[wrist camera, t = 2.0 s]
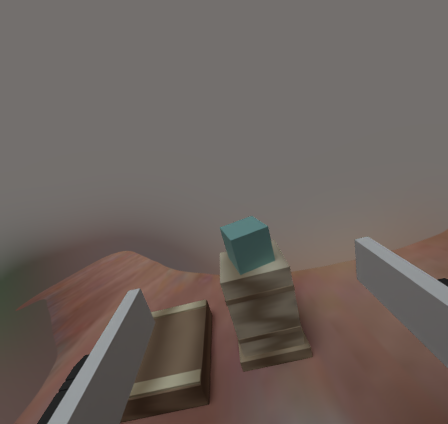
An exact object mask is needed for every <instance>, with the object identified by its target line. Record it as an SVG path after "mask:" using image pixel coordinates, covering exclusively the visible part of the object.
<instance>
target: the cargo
mask: <svg viewBox="0 0 448 424" xmlns="http://www.w3.org/2000/svg"><path fill="white" fill-rule="evenodd" d="M220 230H221V233H222V237H223V240H224V244H225V247H226V250H227V254H228V257H229V259H230V260H231V262H232V263H233V265H234V266H235V268H236V269H237V271H238V272H239V274H240V275H242V274H244V273H247V272H249V271H252V270H254V269H256V268H259V267H261V266H263V265H266V264H268V263H271V262H273V261H275V257H274V252H273V248H272V243H271V239H270V234H269V229H268V226H266V225H265V224H263V223H262V222H260V221H259V220H257V219H256V218H254V217H253V216H251V217H247V218H245V219H242V220H239V221H236V222H234V223H231V224H228V225H226V226H223V227H220Z"/></svg>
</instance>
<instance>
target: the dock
mask: <svg viewBox="0 0 448 424" xmlns="http://www.w3.org/2000/svg"><path fill="white" fill-rule="evenodd" d="M151 314H152V316H153V318H154V320H155V325H154V328H153V331H152V334H151V337H150V339H149V342H148V345H147V348H146V351H145V354H144V356H143V359H142V362H141V365H140V368H139V370H138V373H137V376H136V379H135V382H134V385H133V387H132V390H131V393H130V396H129V399H128V402H127V404H126V407H125V410H124V413H123V416H122V419H121V421H120V422H125V421H130V420H134V419H139V418H144V417H149V416H154V415H159V414H164V413H168V412H173V411H178V410H183V409H188V408H193V407H198V406H202V405H207V404H209V386H210V359H211V332H212V313H211V311H210V308H209V305H208V302H207V300H202V301H198V302H193V303H189V304H185V305H181V306H177V307H172V308H168V309H164V310H160V311H155V312H151Z"/></svg>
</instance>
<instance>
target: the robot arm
mask: <svg viewBox="0 0 448 424" xmlns="http://www.w3.org/2000/svg"><path fill="white" fill-rule="evenodd" d="M355 254H356V271H357V279H358V280H359V281H360V282H361V283H362V284H363V285H364V286H365V287H366V288H367V289H368V290H369V291H370V292H371V293H372V294H373V295H374V296H375V297H376V298H377V299H378V300H379V301H380V302H381V303H382V304H383V305H384V306H385V307H386V308H387V309H388V310H389V311H390V312H391V313H392V314H393V315H394V316H395V317H396V318H397V319H398V320H399V321H400V322H401V323H402V324H403V325H404V326H406V327H407V328H408V329H409V330H410V331H411V332H412V333H413V334H414V335H415V336H416V337H417V338H418V339H419V340H420V341H421V342H422V343H423V344H424V345H425V346H426V347H427V348H428V349H429V350H430V351H431V352H432V353H433V354H434V355H435V356H436V357H437V358H438V359H439V360H440V361H441V362H442V363H443V364H444V365H445V366H446V367H447V368H448V279H446V278H443V279H438V280H436V279H435V278H433V277H431V276H430V275H428V274H427V273H425V272H424V271H422V270H420V269H419V268H417V267H416V266H414V265H412V264H411V263H409V262H408V261H406V260H404V259H403V258H401V257H400V256H398V255H396V254H395V253H393V252H392V251H390V250H388V249H387V248H385V247H383V246H382V245H381V244H379V243H377V242H376V241H374V240H373V239H371V238H369V237H364V238H360V239H356V240H355ZM154 325H155V320H154V318H153V316H152V314H151V311H150V309H149V307H148V305H147V302H146V300H145V298H144V296H143V293H142V291H141V289H135V290H131V291H128V293H127V294H126V296H125V297H124V299H123V301H122V302H121V304H120V306H119V307H118V309H117V311H116V312H115V314H114V315H113V317H112V319H111V320H110V322H109V324H108V325H107V327H106V329H105V330H104V332H103V333H102V335H101V337H100V338H99V340H98V342H97V343H96V345H95V347H94V348H93V350H92V351H91V353H90V354H89V355H85V356H84V357H83V358H82V359H81V360H80V361H79V362H78V363H77V364H76V365H75V366H74V368H73V369H72V371H71V372H70V374H69V375H68V377H67V378H66V381H65V382H64V383H63V385H62V386H61V388H60V389H59V392H58V393H57V394H56V395H55V397H54V398H53V400H52V402H51V403H50V405H49V406H48V408H47V409H46V411H45V412H44V414H43V415H42V417H41V419H40V420H39V422H38V423H37V424H120V421H121V419H122V416H123V413H124V410H125V407H126V404H127V402H128V399H129V396H130V393H131V390H132V387H133V385H134V382H135V379H136V376H137V373H138V370H139V368H140V365H141V362H142V359H143V356H144V354H145V351H146V348H147V345H148V342H149V339H150V337H151V334H152V331H153V328H154Z"/></svg>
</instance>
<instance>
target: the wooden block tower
mask: <svg viewBox="0 0 448 424" xmlns="http://www.w3.org/2000/svg"><path fill="white" fill-rule="evenodd" d="M271 243H272V248H273V252H274V257H275V261H273V262H271V263H268V264H266V265H263V266H261V267H259V268H256V269H254V270H252V271H249V272H247V273H244V274H242V275H240V274H239V272H238V271H237V269H236V268H235V266H234V265H233V263H232V262H231V260H230V259H229V257H228V254H227V251H226V252H222V253H220V284H221V287H222V291H223V294H224V297H225V302H226V305H227V306H228V309H229V312H230V315H231V318H232V321H233V324H234V328H235V331H236V334H237V337H238V344H239V354H240V363H241V366H242V369H243V372H245V371H250V370H255V369H259V368H264V367H269V366H273V365H278V364H283V363H287V362H292V361H297V360H302V359H306V358H311V357H312V351H311V347H310V345H309V342H308V340H307V338H306V336H305V333H304V331H303V329H302V326H301V323H300V318H299V313H298V307H297V302H296V297H295V292H294V290H295V289H294V285H293V281H292V276H291V271H290V266H289V265H288V263H287V261H286V259H285V258H284V256H283V254H282V252H281V251H280V249H279V247H278V245H277V244H276V242H275V240H271Z"/></svg>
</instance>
